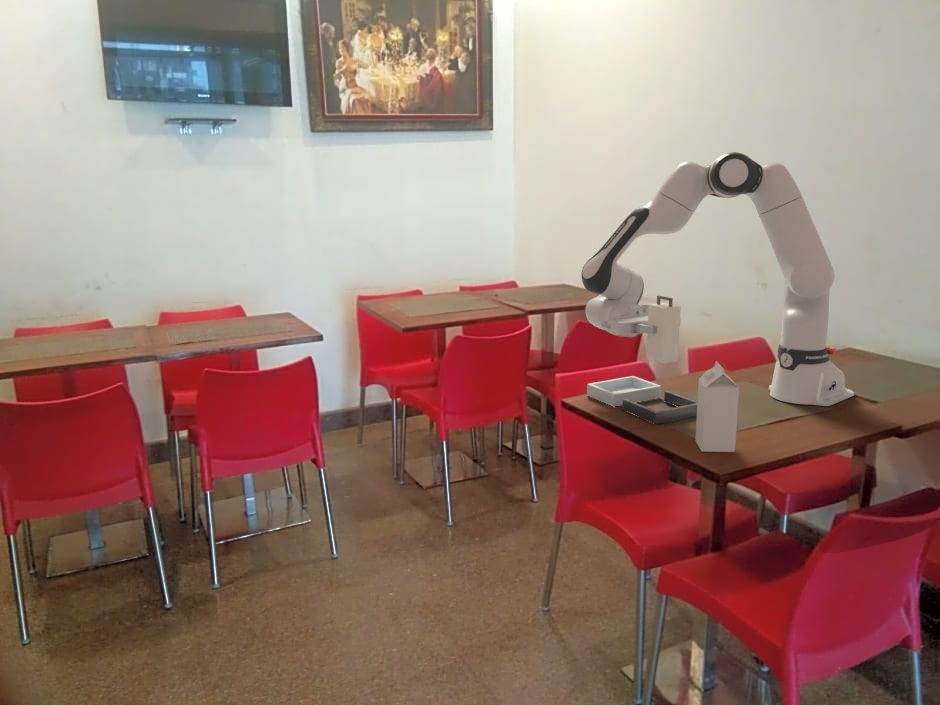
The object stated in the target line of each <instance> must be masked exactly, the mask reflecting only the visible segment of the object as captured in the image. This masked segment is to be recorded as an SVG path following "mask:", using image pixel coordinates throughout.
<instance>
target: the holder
mask: <svg viewBox="0 0 940 705" xmlns="http://www.w3.org/2000/svg"><path fill="white" fill-rule="evenodd" d="M663 398H664V399H663V402H664V401H666V402H669V403H671V404H674V405H676V406H678V407H676V406H674V407H671V408H666V409H663V410H661V409H660V410H654V409H652V408H649V407H647V406H645V405H643V404H640V403H635V402H632V401H630V400H628V399H623V403H622V406H621V407H622V409H623V410H625V411H628V412H630V413H633V414H635V415H637V416H639V417H641V418H643V419H646V420H648V421H650V422H652V423H651V424H653V423H654V424H653V425H655V424H657V425H661V423H662V424H666V423H671V422H675V421H679V419H680V420H683V419H684V418H685V419H689V418H694V417H697V403H698V400H694V399H691V398H690V397H685V396H683V395H680V394H677V393H675V392H672V391H669V390H664V397H663ZM666 402H665V403H666ZM671 404H670V405H671ZM622 409H621V410H622ZM623 410H622V411H623ZM625 411H624V412H625ZM630 413H629V414H630ZM637 416H636V417H637ZM693 416H694V417H693ZM639 417H638V418H639ZM688 417H689V418H688ZM641 418H640V419H641ZM643 419H642V420H643ZM646 420H645V421H646ZM674 420H675V421H674ZM648 421H647V422H648ZM670 421H671V422H670ZM650 422H649V423H650Z"/></svg>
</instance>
